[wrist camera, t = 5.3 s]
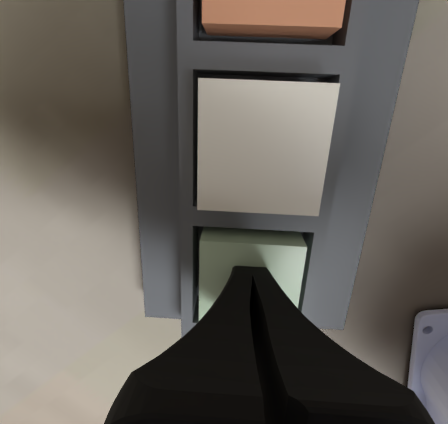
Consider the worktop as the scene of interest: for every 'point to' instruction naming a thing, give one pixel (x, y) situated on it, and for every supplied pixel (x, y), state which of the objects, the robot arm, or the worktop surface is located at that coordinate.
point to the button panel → (188, 142)
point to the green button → (249, 259)
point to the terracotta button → (273, 18)
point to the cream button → (263, 145)
